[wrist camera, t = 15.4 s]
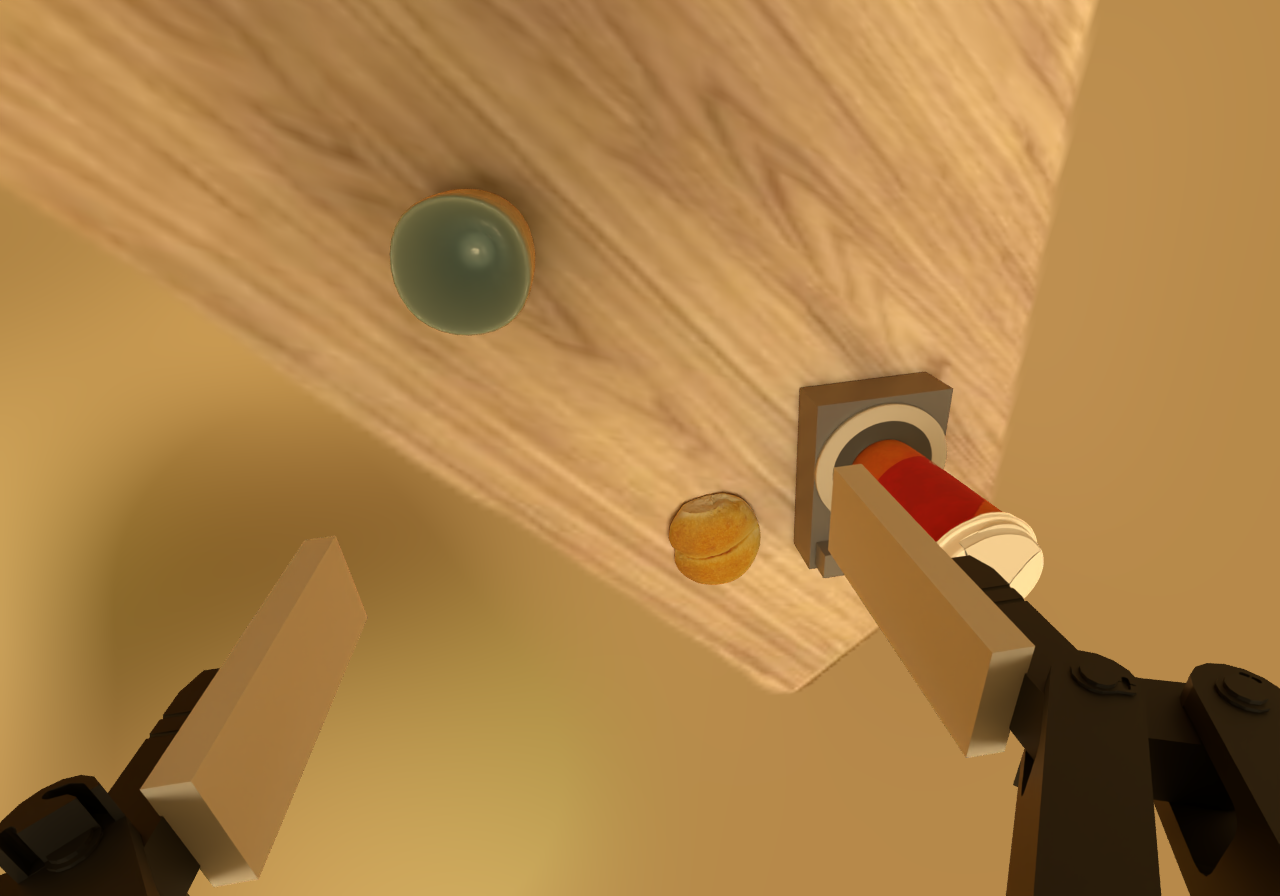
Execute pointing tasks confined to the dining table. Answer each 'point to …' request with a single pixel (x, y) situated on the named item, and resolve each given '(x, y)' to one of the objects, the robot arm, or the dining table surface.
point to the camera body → (858, 443)
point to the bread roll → (715, 538)
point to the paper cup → (956, 513)
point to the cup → (463, 261)
